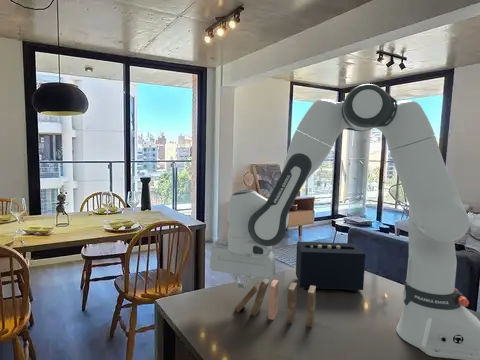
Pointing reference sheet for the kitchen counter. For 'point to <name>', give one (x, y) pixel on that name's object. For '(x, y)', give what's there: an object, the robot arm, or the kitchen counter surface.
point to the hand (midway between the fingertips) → (241, 288)
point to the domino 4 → (291, 302)
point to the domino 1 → (248, 296)
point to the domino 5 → (311, 306)
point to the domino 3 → (273, 299)
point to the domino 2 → (260, 297)
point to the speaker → (330, 265)
